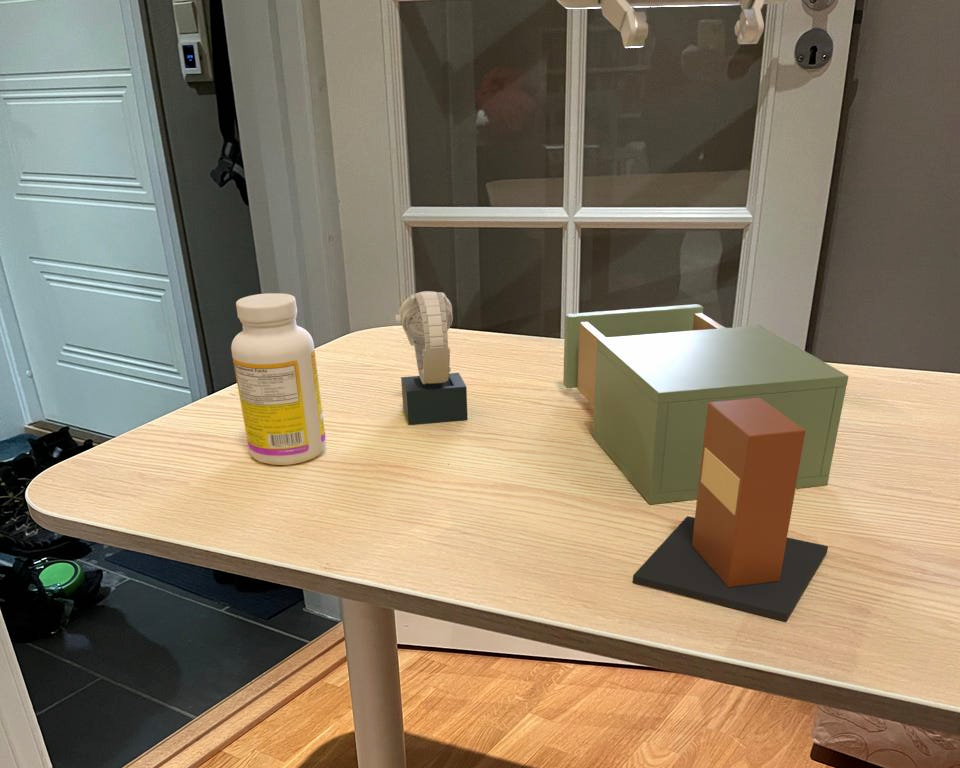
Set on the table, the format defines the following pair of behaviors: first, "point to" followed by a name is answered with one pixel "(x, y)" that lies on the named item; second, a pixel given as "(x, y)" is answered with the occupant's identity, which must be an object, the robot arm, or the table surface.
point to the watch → (431, 362)
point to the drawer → (615, 324)
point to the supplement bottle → (277, 381)
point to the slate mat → (694, 578)
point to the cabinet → (705, 401)
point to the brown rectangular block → (746, 490)
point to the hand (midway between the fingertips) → (694, 39)
